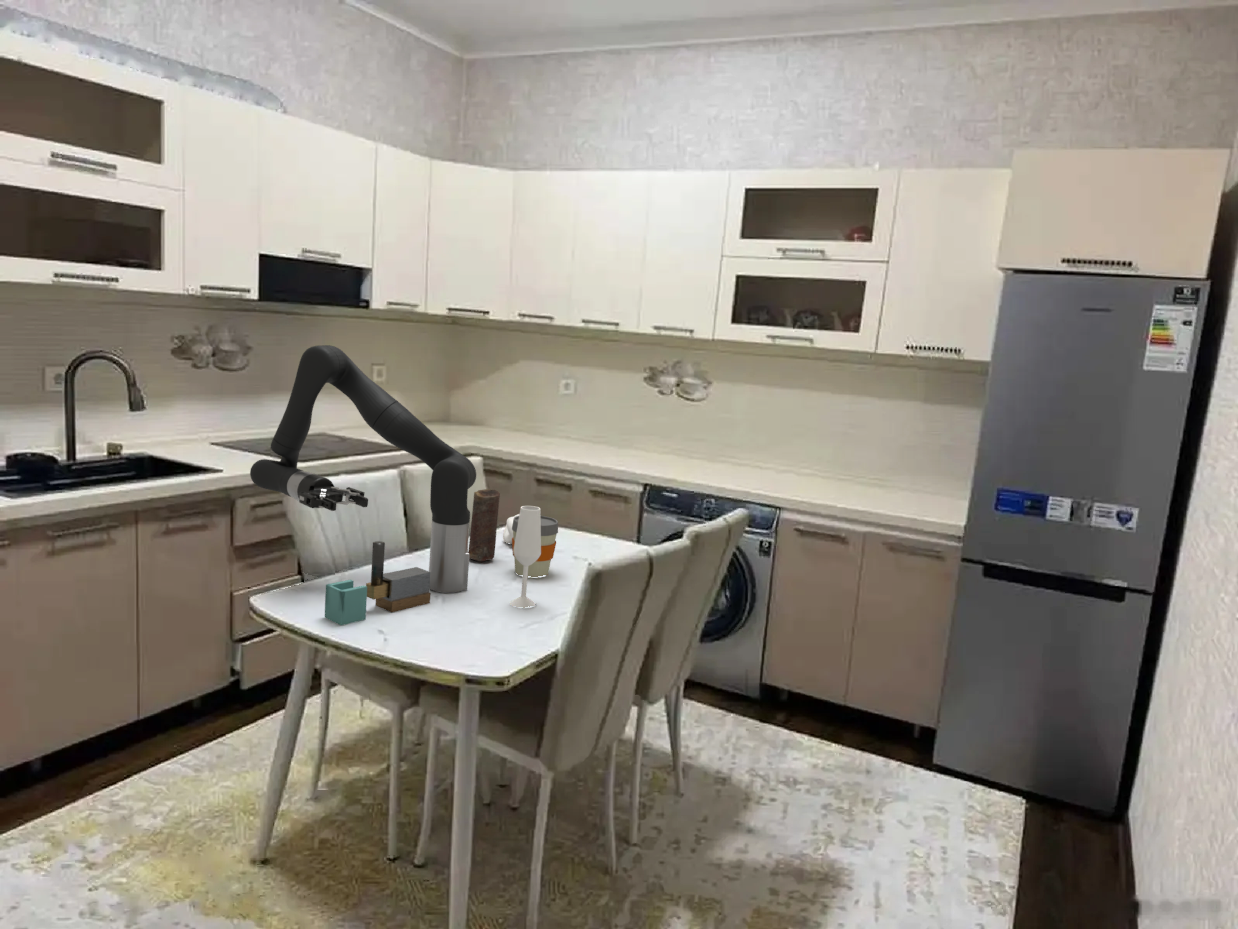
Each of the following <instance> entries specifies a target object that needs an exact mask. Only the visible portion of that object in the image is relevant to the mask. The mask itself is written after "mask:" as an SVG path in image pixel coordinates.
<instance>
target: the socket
mask: <svg viewBox="0 0 1238 929" xmlns="http://www.w3.org/2000/svg"><path fill="white" fill-rule="evenodd" d="M354 582H355V581H354V580H353V579H348V580H342V581H337V582H332V583H326V584H325V596H324V597H325V598H324V599H325V600H324V601H325V602H324V618H325V619H327V620H329V621H330V622H333V623H335V624H338V625H339V626H344V625H348V624H353V623H356V622H361V621H364V620H366V619H367V600H368V599H367V598H368V597H367V586H366V585H364V584H363V585H359V586H354V585H355V584H354Z"/></svg>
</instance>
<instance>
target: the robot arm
mask: <svg viewBox="0 0 1238 929" xmlns="http://www.w3.org/2000/svg"><path fill="white" fill-rule="evenodd" d="M326 384H330V385H331V386H333V387H334V388H336V389H338V390H339V391H340V392H341V393H343V395H345V396H346V397H347V398H348V399H349V400H350V401H351V402H352V403H353V404H354V406H355V407H356V409H357V411H358V413H359V414H360V416H361V417H362V419H363V420H364V421H365V423H366V424H367V425H368V426H369V427H370V428H371V429H372V430H373V431H374V432H375V433H376V434H378V435H379V436H380V437H381V438H382V439H384V440H385V441H386V442H387V443H389V444H391V445H392V446H394V447H396V448H398V449H400V450H402V451H404V452H406V453H407V454H410V455H412V456H414V457H416V458H418V459H419V460H421V462H423V463H424V464H426V465H427V466H428V467H429V468H430V469H431V470H432V472H431V478H430V479H431V480H430V493H429V494H430V497H429V498H430V501H429V503H430V504H429V505H430V507H429V508H430V511H431V528H430V529H431V531H430V532H431V533H430V545H429V546H430V548H429V549H430V550H429V562H428V571H429V572H430V588H429V590H431V591H433V592H437V593H442V594H445V593H447V594H451V593H459V592H463V591H468V582H469V581H468V580H469V567H470V566H469V565H470V558H469V552H468V550H469V539H470V524H471V523H470V521H471V512H470V510H469V507H468V494H469V493H468V492H469V489H470V488H471V487H472V486H474V484H475V483H476V479H477V469H476V467H475V465H474V464H473V462H472V461H471V460H470V459H469V457H467V456H465V455H464V454H462V453H461V452H459V451H458V450H456V449H455V448H453V447H452V446H451V445H449V444H448V443H446V442H445V441H444V440H442V439H441V438H439V436H437V435H436V434H435V433H434V432H433V431H432V430H431V429H430V428H428V426H427V425H425V424H424V423H423V422H422V421H421V420H420V419H419V418H417V417H416V416H415V415H414V414H413V413H412V412H411V411H410V410H408V408H407V407H405V406H404V405H403V404H402V403H400V402H399V400H397V399H396V398H395V397H393V396H392V395H391V394H390V393H389V392H387V391H386V390H385V389H383V388H382V387H381V386H380V385H378V384H377V383H376V382H375V381H374V380H372V379H371V378H369V377H368V375H366V374H365V373H364V372H363V371H362V370H361V369H360V367H358V365H356V363H355V362H354V361H353V360H352V359H351V358H350V357H349V356H348V355H347V354H346V353H345V352H344V351H343V350H342V349H340V348H339V347H337V346H334V345H330V344H329V345H327V344H324V345H320V344H319V345H313V346H310V347H308V348H307V349H306V350H304V352H303V353H302V355H301V356H300V360H299V362H298V367H297V371H296V375H295V379H294V383H293V386H292V390H291V393H290V397H289V399H288V402H287V406H286V407H285V410H284V413H283V416H282V418H281V420H280V422H279V424H278V427H277V430H276V431H275V434H274V436H273V438H272V440H271V443H270V449H271V451H272V452H273V453H274V454H276V455H278V456H279V457H281V459H280V460H274V459H273V460H272V459H265V458H262V459H259V460H257V461H256V462H254V463H253V464H252V466H251V467H250V469H249V470H250V471H249V477H250V479H251V481H252V483H253V484H254V485H256V486H257V487H258V488H261V489H265V490H268V491H269V490H270V491H272V492H273V491H274V492H279V493H281V494H284V495H286V496H288V497H291V498H293V499H294V500H296V501H297V502H299V503H300V504H302V505H303V506H306V507H309V508H311V509H323V508H324V509H326V510H329V511H331V512H333V511H335V512H336V510H337V504H338V505H346V506H347V505H349V504H352V505H353V504H354V505H357V506H359V507H362V508H368V506H369V505H368V504H369V498H368V497H365V492H364V491H362V490H359V489H355V488H352V487H350V486H349V487H348V486H347V487H346V489H345V488H339V486H338V487H337V486H335V485H334V483H333V482H332V480H330V479H329V478H326V477H325V476H322V475H320V474H316V473H313V472H310V471H305V470H303V469H301V468H298V464H299V463H298V462H299V455H300V451H301V449H302V447H303V446H304V443H305V441H306V439H307V437H308V434H309V432H310V428H311V425H312V417H313V410H314V407H315V406H314V405H315V403H316V400H317V398H318V395H319V394H320V393H321V391H322V390H323V388H324V386H325V385H326ZM343 498H345V499H344V500H343Z"/></svg>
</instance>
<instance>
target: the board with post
mask: <svg viewBox="0 0 1238 929" xmlns="http://www.w3.org/2000/svg"><path fill="white" fill-rule="evenodd" d="M385 548H386V543H385V541H380V540H377V541H373V542H372V550H371V553H372V554H371V571H370V572H371V574H370V582H365V586H367V598H369V599H371V600H374V601H375V600H376V599H378V598H383V597H387V596H389V595H390V582H388V581H386V580H383V574H384V567H385V565H384V564H385V550H386V549H385Z"/></svg>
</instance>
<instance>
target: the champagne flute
mask: <svg viewBox="0 0 1238 929" xmlns="http://www.w3.org/2000/svg"><path fill="white" fill-rule="evenodd" d="M541 511H542V510H541V508H540V507H539V506H534V505H522V506H520V509H519V514H520V515H519V521H518V526H517V532H516V538H515V544H514V549H513V551H512V555H513V554H514V556H515V557H516V559H517V560H518V561H519V562H520V563H521V564H522V565H523V566H524V567H523V577H522V581H521V592H520V594H521V595H520V597H517V598H515V599H512V600H511V601H509V603H510V604H509V606H511V605H512V606H511V607H513V606H516V607H523V608H525V607H528V606H529V607H530V606H535V603H536V602H535V601H534V600H532V599H531V598H528V596H527V591H528V590H527V588H528V579H529V578H528V566H529V565H531V564H533V563H534V562H535V561H536V560H537V559H538V558H539V557H540V555H541V516H542V515H541ZM514 556H513V557H514ZM534 602H535V603H534Z"/></svg>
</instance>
